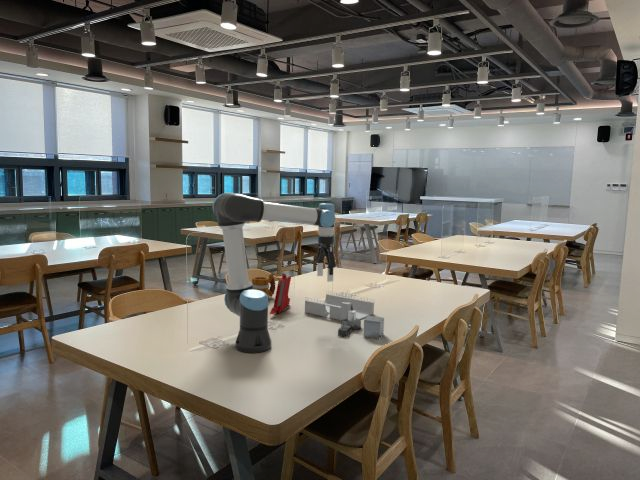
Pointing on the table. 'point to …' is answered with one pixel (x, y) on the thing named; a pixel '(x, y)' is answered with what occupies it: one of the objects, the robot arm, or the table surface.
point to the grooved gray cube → (373, 327)
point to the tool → (282, 295)
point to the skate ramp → (340, 307)
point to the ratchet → (349, 324)
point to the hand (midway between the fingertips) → (324, 278)
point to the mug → (264, 284)
